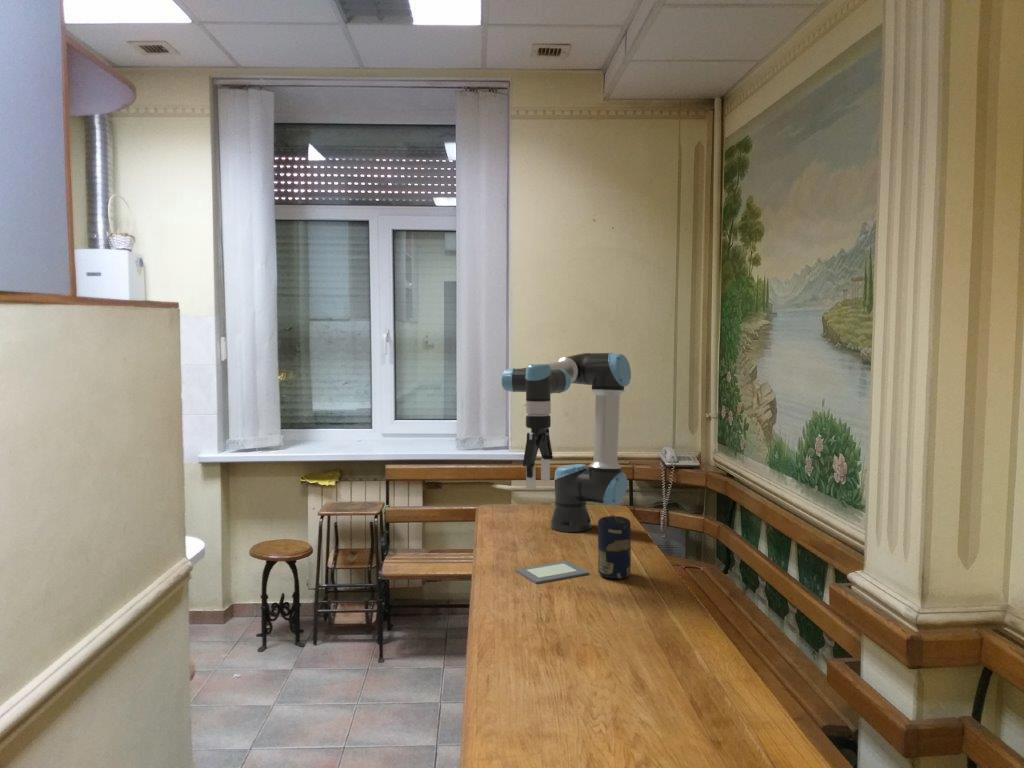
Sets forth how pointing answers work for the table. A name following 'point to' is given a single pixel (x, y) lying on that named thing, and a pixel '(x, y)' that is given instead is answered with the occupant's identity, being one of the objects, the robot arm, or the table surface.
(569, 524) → the robot arm
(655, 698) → the table surface
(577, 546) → the table surface
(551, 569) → the mat
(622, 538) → the canister
